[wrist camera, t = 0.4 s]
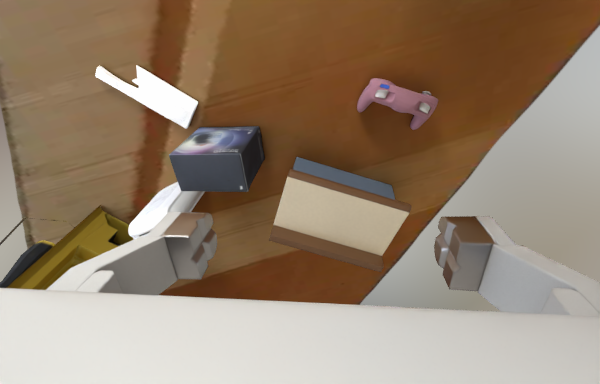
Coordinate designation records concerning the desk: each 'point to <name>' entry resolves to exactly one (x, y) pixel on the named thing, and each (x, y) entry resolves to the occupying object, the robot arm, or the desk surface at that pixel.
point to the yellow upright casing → (66, 251)
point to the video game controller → (399, 100)
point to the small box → (218, 159)
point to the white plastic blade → (155, 95)
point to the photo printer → (163, 208)
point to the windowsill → (337, 214)
